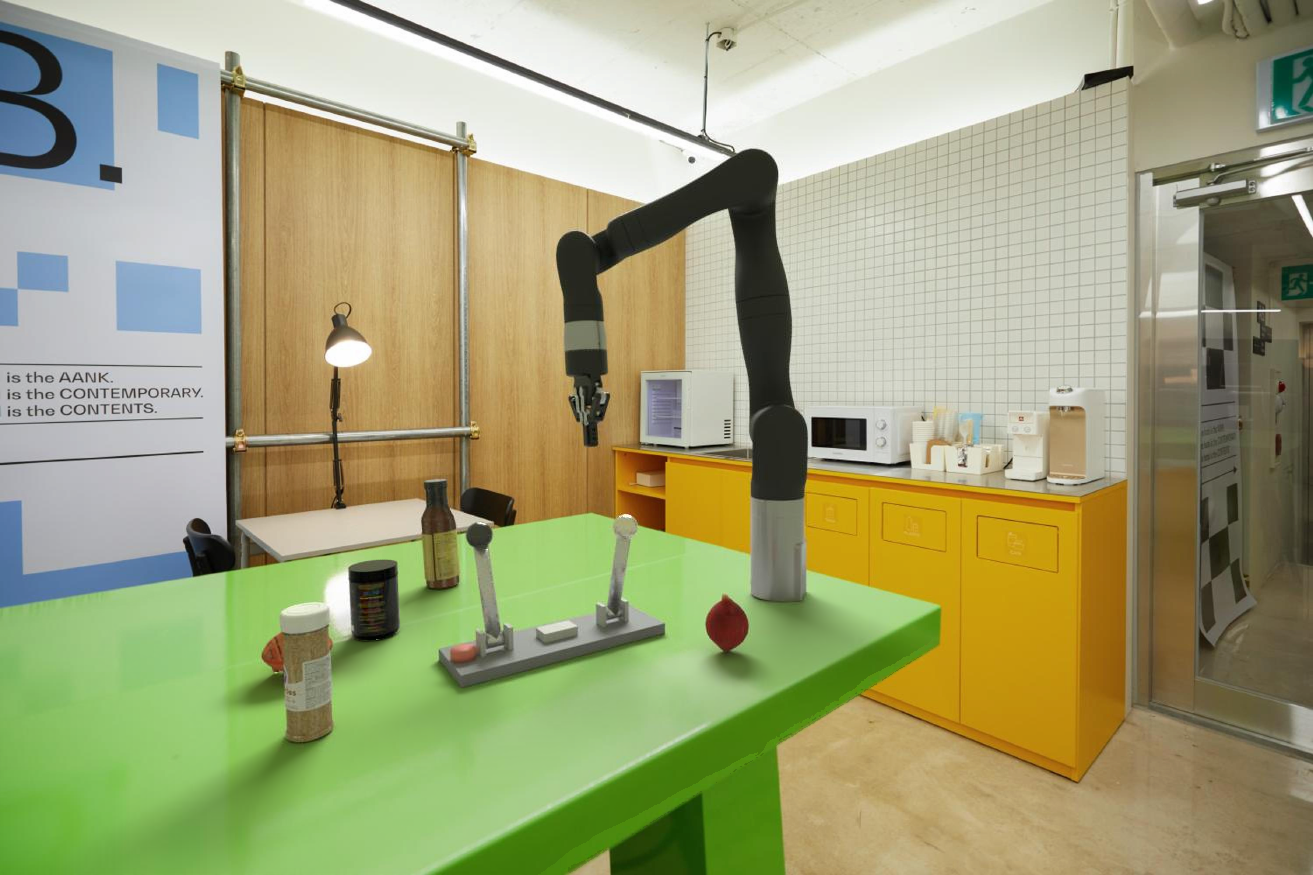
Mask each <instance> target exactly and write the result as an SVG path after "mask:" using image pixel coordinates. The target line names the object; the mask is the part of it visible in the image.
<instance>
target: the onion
mask: <svg viewBox="0 0 1313 875" xmlns="http://www.w3.org/2000/svg"><path fill="white" fill-rule="evenodd" d="M749 624H750V623H749V619H748V615H747V613H746V612H745V611H744V609H743V608H742V607H741V606H740V605H739V603H737V602H735V601H734V600H733V599H732V598H730V597H729V595H728V594H727V593H722V595H721V600H719V601H718V602H717V603H715V604H714V605H713V606H712V607H711V609H710V610H709V611H708V613H707V615H706V618H705V624H704V625H705V631H706V635H707V636H708V638H709V639H710V640H711V641H712V642H713V643H714V644H715V645H716V646H717V647H718V648H719V649H720V650H721V651H723V652H725V653H728V652H731V651H732V650H733V649H735V648H737V647H738V646H740V645H741V644H742V643H744V641H745V640H746V637H747V636H748V634H749V628H750V625H749Z"/></svg>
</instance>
